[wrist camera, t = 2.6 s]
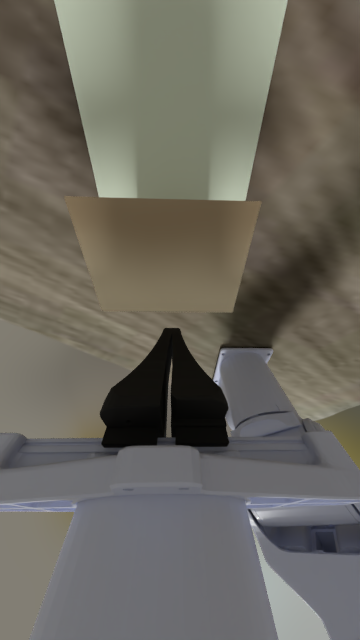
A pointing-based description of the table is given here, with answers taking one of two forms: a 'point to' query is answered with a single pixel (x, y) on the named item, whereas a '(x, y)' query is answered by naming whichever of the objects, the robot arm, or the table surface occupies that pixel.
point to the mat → (171, 91)
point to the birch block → (164, 251)
